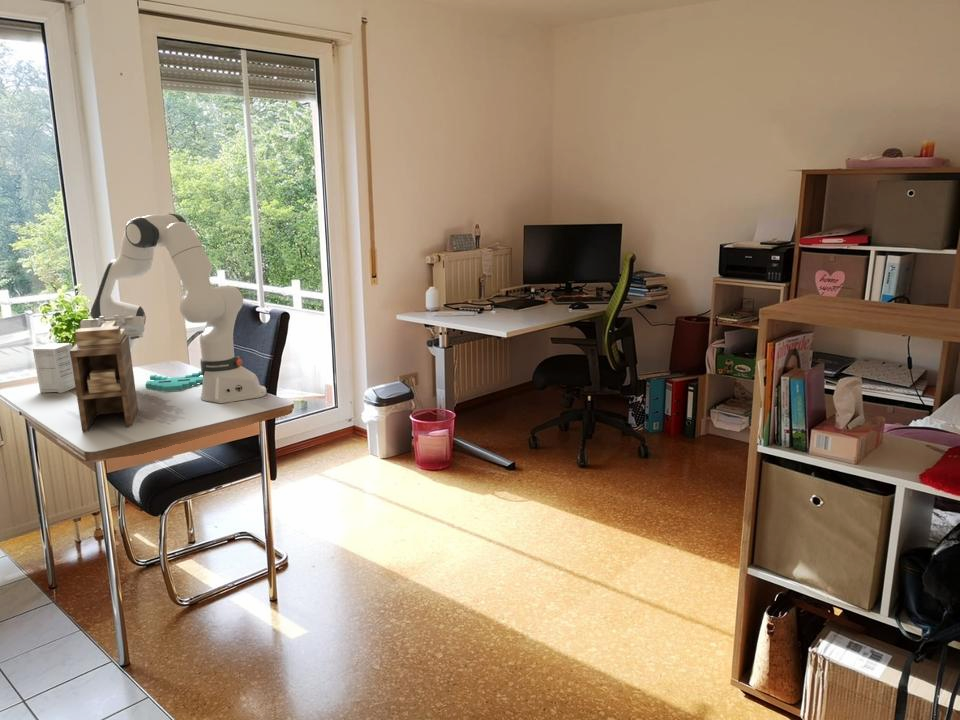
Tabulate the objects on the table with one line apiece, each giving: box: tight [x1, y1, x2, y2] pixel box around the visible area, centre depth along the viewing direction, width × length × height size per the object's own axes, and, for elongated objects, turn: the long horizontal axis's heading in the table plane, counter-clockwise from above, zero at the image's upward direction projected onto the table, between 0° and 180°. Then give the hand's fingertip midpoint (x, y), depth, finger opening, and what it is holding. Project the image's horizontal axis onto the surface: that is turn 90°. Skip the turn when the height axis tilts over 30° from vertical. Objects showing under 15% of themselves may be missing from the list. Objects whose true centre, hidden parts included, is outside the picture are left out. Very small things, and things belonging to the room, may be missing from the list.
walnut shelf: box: [70, 335, 139, 433], centre depth 238 cm, size 14×20×26 cm
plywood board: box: [74, 321, 125, 346], centre depth 244 cm, size 12×28×4 cm, turn 18°
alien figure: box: [145, 370, 203, 392], centre depth 283 cm, size 20×2×20 cm
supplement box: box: [32, 342, 76, 394], centre depth 276 cm, size 10×9×17 cm
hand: (109, 317), depth 255 cm, fingers closed on plywood board, 3 cm apart
